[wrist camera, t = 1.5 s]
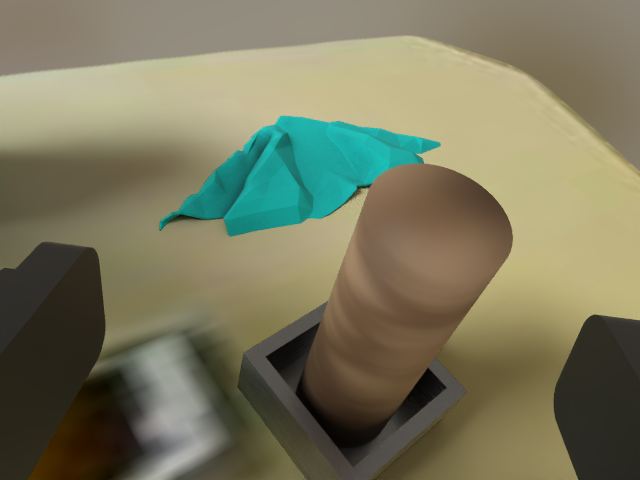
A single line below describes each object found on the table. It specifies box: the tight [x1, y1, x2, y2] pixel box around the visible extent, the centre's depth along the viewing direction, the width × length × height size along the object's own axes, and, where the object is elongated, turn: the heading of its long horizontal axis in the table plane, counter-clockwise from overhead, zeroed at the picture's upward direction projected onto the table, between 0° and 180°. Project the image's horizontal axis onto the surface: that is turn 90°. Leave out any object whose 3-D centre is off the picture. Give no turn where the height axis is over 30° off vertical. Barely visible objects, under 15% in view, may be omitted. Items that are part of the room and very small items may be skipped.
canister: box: [296, 164, 513, 448], centre depth 26 cm, size 6×6×16 cm
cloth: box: [159, 116, 440, 237], centre depth 45 cm, size 26×14×2 cm, turn 109°
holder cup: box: [238, 301, 467, 480], centre depth 31 cm, size 9×9×4 cm
